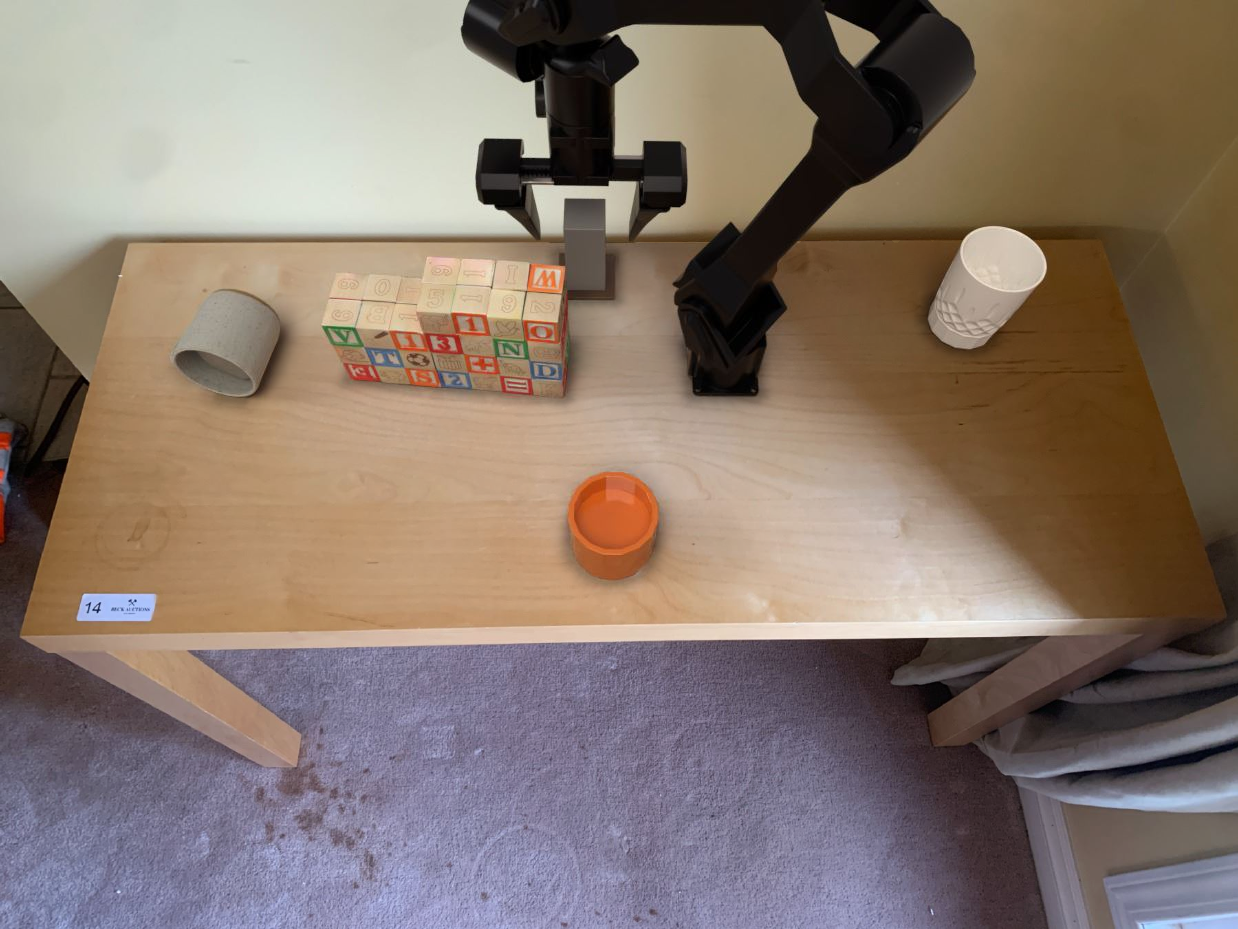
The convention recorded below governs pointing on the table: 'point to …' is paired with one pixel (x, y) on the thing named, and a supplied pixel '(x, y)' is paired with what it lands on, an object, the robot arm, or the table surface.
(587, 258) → the block
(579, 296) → the coaster
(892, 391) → the table surface
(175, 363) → the ceramic mug
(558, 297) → the stack of blocks
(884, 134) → the robot arm
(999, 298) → the white cup
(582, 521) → the cup
